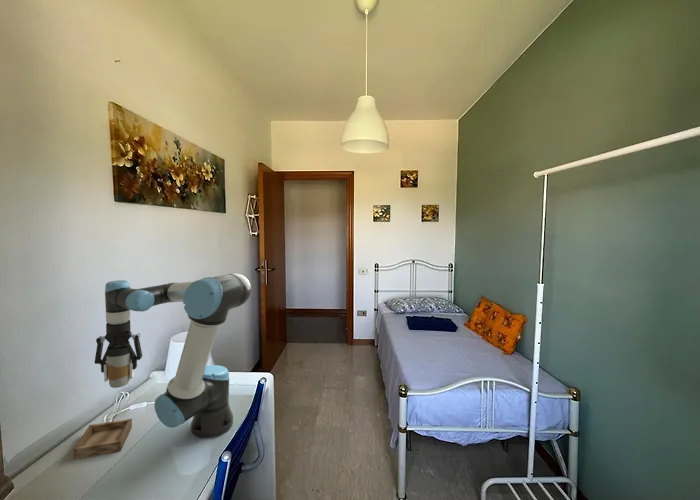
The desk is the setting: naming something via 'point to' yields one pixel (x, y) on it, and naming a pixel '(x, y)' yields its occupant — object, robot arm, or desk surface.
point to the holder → (103, 438)
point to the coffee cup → (118, 365)
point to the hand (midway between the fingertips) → (119, 378)
